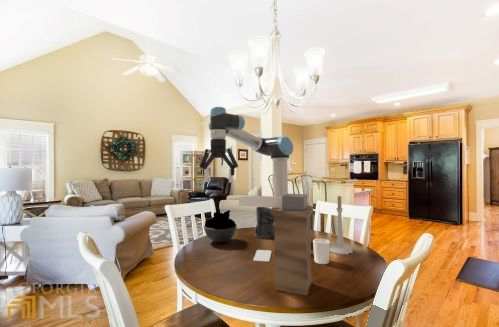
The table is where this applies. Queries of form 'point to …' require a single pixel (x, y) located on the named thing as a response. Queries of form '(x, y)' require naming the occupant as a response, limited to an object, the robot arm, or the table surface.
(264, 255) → the smartphone
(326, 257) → the white cup
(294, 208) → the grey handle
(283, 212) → the tall stand
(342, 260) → the table surface
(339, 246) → the candlestick
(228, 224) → the bowl of black rocks
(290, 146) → the robot arm
